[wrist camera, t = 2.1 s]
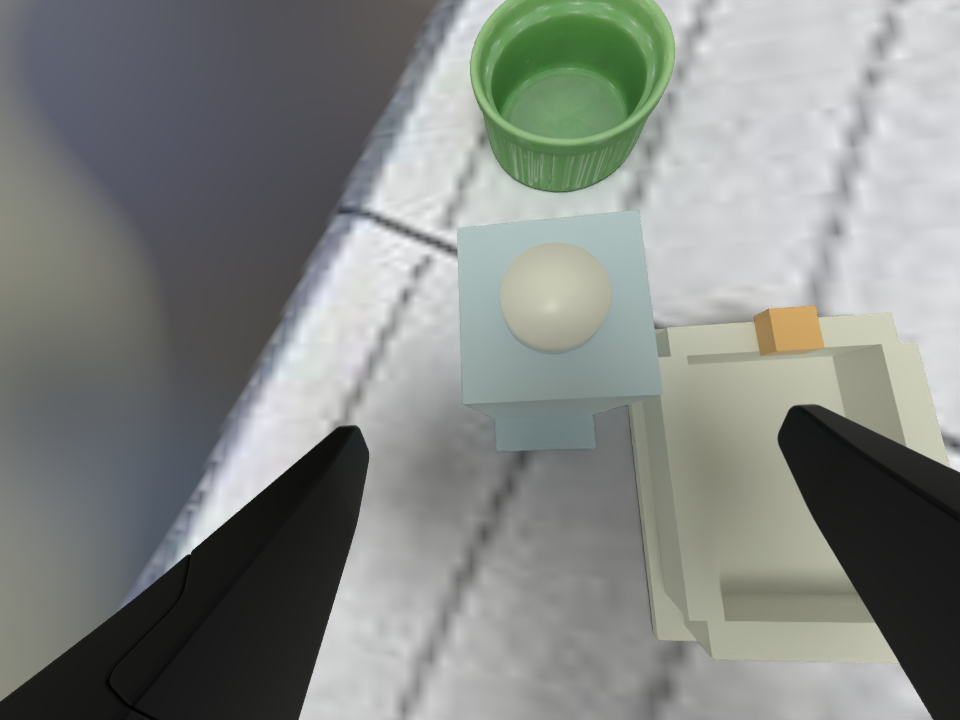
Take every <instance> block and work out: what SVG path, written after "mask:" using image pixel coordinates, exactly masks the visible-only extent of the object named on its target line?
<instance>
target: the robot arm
mask: <svg viewBox="0 0 960 720" xmlns="http://www.w3.org/2000/svg"><path fill="white" fill-rule="evenodd" d="M777 439H778V445H779V447H780V450H781V452H782V454H783V456H784V458H785V460H786V463H787V465H788V467H789V469H790V471H791V473H792V475H793V478H794V480H795V482H796V484H797V486H798V488H799V491H800V493H801V495H802V497H803V499H804V501H805V503H806V506H807V507H808V509H809V511H810V513H811V515H812V517H813V519H814V521H815V523H816V524H817V526H818V528H819V530H820V531H821V533H822V535H823V536H824V538H825V540H826V541H827V543H828V545H829V546H830V548H831V550H832V551H833V553H834V555H835V556H836V558H837V560H838V561H839V563H840V565H841V566H842V568H843V570H844V571H845V573H846V575H847V576H848V578H849V580H850V581H851V583H852V585H853V586H854V588H855V590H856V591H857V593H858V595H859V596H860V598H861V600H862V601H863V603H864V605H865V606H866V608H867V610H868V611H869V613H870V615H871V617H872V618H873V620H874V622H875V623H876V625H877V627H878V628H879V630H880V632H881V633H882V635H883V637H884V638H885V640H886V642H887V643H888V645H889V647H890V648H891V650H892V652H893V653H894V655H895V657H896V658H897V660H898V662H899V663H900V665H901V667H902V668H903V670H904V672H905V673H906V675H907V677H908V678H909V680H910V682H911V683H912V685H913V687H914V688H915V690H916V692H917V693H918V695H919V697H920V698H921V700H922V702H923V703H924V705H925V707H926V708H927V710H928V712H929V713H930V715H931V717H932V719H933V720H960V472H958V471H956V470H954V469H951V468H949V467H947V466H945V465H943V464H941V463H939V462H937V461H935V460H933V459H931V458H929V457H926V456H924V455H922V454H920V453H918V452H916V451H914V450H912V449H910V448H908V447H906V446H904V445H901V444H899V443H897V442H895V441H893V440H891V439H889V438H887V437H885V436H883V435H881V434H879V433H876V432H874V431H872V430H870V429H868V428H866V427H864V426H862V425H860V424H858V423H856V422H854V421H851V420H849V419H847V418H845V417H843V416H841V415H839V414H837V413H835V412H833V411H831V410H829V409H827V408H824V407H822V406H820V405H817V404H803V405H794V406H792V407H791V408H790V409H789V410H788V412H787V414H786V417H785V419H784V421H783V423H782V426H781V428H780V430H779V432H778V437H777ZM368 463H369V451H368V448H367V445H366V443H365V440H364V438H363V435H362V433H361V430H360V428H359V427H358V426H356V425H348V426H339V427H338V428H336V429H335V430H334V431H333V432H331V433H330V434H329V435H328V436H327V437H326V438H324V439H323V440H322V441H321V442H320V443H318V444H317V445H316V446H315V447H314V448H313V449H311V450H310V451H309V452H308V453H307V454H305V455H304V456H303V457H302V458H301V459H300V460H298V461H297V462H296V463H295V464H294V465H293V466H291V467H290V468H289V469H288V470H287V471H285V472H284V473H283V474H282V475H281V476H280V477H278V478H277V479H276V480H275V481H274V482H273V483H271V484H270V485H269V486H268V487H267V488H265V489H264V490H263V491H262V492H261V493H260V494H258V495H257V496H256V497H255V498H254V499H252V500H251V501H250V502H249V503H248V504H247V505H245V506H244V507H243V508H242V509H241V510H240V511H238V512H237V513H236V514H235V515H234V516H232V517H231V518H230V519H229V520H228V521H227V522H225V523H224V524H223V525H222V526H221V527H220V528H218V529H217V530H216V531H215V532H214V533H212V534H211V535H210V536H209V537H208V538H207V539H205V540H204V541H203V542H202V543H201V544H199V545H198V546H197V547H196V548H195V549H194V550H193V551H192V552H191V555H190V554H188V555H186V556H185V557H184V558H183V559H182V560H180V561H179V562H178V563H177V564H176V565H175V566H173V567H172V568H171V569H170V570H169V571H168V572H166V573H165V574H164V575H163V576H161V577H160V578H159V579H158V580H157V581H155V582H154V583H153V584H152V585H151V586H149V587H148V588H147V589H146V590H144V591H143V592H142V593H141V594H140V595H138V596H137V597H136V598H135V599H133V600H132V601H131V602H130V603H128V604H127V605H126V606H124V607H123V608H122V609H121V610H119V611H118V612H117V613H116V614H114V615H113V616H112V617H110V618H109V619H108V620H107V621H105V622H104V623H103V624H102V625H100V626H99V627H98V628H96V629H95V630H94V631H92V632H91V633H90V634H89V635H87V636H86V637H84V638H83V639H82V640H81V641H79V642H78V643H77V644H75V645H74V646H73V647H71V648H70V649H69V650H68V651H66V652H65V653H64V654H62V655H61V656H60V657H58V658H57V659H56V660H54V661H53V662H52V663H50V664H49V665H48V666H46V667H45V668H44V669H43V670H41V671H40V672H39V673H37V674H36V675H35V676H33V677H32V678H31V679H29V680H28V681H27V682H25V683H24V684H23V685H21V686H20V687H19V688H18V689H16V690H15V691H14V692H12V693H11V694H10V695H8V696H7V697H6V698H4V699H3V700H2V701H0V720H299V716H300V713H301V710H302V706H303V703H304V700H305V696H306V693H307V690H308V686H309V683H310V680H311V676H312V673H313V670H314V666H315V663H316V660H317V656H318V653H319V650H320V646H321V643H322V640H323V636H324V633H325V630H326V626H327V623H328V620H329V616H330V613H331V610H332V606H333V603H334V600H335V596H336V593H337V590H338V586H339V583H340V580H341V576H342V573H343V570H344V566H345V563H346V560H347V556H348V553H349V550H350V546H351V543H352V540H353V536H354V533H355V529H356V526H357V521H358V517H359V512H360V506H361V501H362V495H363V490H364V484H365V479H366V474H367V468H368Z"/></svg>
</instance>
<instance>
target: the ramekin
mask: <svg viewBox="0 0 960 720" xmlns="http://www.w3.org/2000/svg"><path fill="white" fill-rule="evenodd" d="M674 61H675V42H674V36H673V33H672V29H671V26H670V24H669V22H668V20H667V18H666V16H665V14H664V13H663V11H662V10H661V9H660V7H659V6H658V5H657V4H656V3H655V2H654V1H653V0H506V1H505V2H504V3H503V4H501V5H500V6H499V7H498V8H497V9H496V10H495V11H494V13H493V14H492V15H491V16H490V17H489V18H488V20H487V21H486V23H485V24H484V25H483V27H482V29H481V30H480V32H479V34H478V36H477V38H476V41H475V43H474V47H473V50H472V55H471V61H470V76H471V83H472V87H473V91H474V94H475V97H476V100H477V102H478V105H479V107H480V109H481V111H482V112H483V116H484V120H485V124H486V128H487V133H488V137H489V140H490V144H491V148H492V150H493V152H494V155H495V157H496V159H497V160H498V162H499V163H500V165H501V166H502V167H503V168H504V169H505V170H506V172H507V173H508V174H510V175H511V176H512V177H513V178H515V179H516V180H518V181H520V182H521V183H523V184H525V185H527V186H530V187H533V188H536V189H541V190H547V191H571V190H576V189H580V188H584V187H587V186H589V185H592V184H595V183H597V182H598V181H600V180H602V179H604V178H606V177H607V176H608V175H610V174H611V173H613V172H614V171H615V170H616V169H617V168H618V167H619V166H620V165H621V164H622V163H623V162H624V160H625V159H626V158H627V157H628V155H629V154H630V152H631V150H632V149H633V147H634V145H635V143H636V141H637V139H638V137H639V135H640V133H641V131H642V128H643V126H644V124H645V122H646V120H647V118H648V116H649V114H650V113H651V112H652V110H653V109H654V108H655V106H656V105H657V103H658V102H659V100H660V98H661V96H662V95H663V93H664V91H665V89H666V87H667V85H668V82H669V80H670V77H671V74H672V71H673V66H674Z"/></svg>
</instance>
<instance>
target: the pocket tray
mask: <svg viewBox="0 0 960 720" xmlns="http://www.w3.org/2000/svg"><path fill="white" fill-rule="evenodd" d="M753 318H754V322H742V323H727V324H712V325H697V326H682V327H668V328H666V329H655V335H656V343H657V351H658V358H659V366H660V374H661V381H662V389H663V395H659V396H656V397H652V398H649V399H645V400H642V401H638V402H635V403H631V404H628V410H629V419H630V428H631V437H632V446H633V455H634V464H635V473H636V481H637V490H638V499H639V508H640V517H641V526H642V535H643V544H644V553H645V562H646V571H647V579H648V588H649V597H650V606H651V615H652V624H653V633H654V635H655V636H656V638H657V639H658V640H664V641H698V642H699V644H700V645H701V646H702V647H703V649H704V650H705V651H706V652H707V653H708V655H709V656H710V657H711V658H712V659H714V660H760V661H807V662H854V663H899V662H898V660H897V658H896V657H895V655H894V653H893V652H892V650H891V648H890V647H889V645H888V643H887V642H886V640H885V638H884V637H883V635H882V633H881V632H880V630H879V628H878V627H877V625H876V623H875V622H874V620H873V618H872V617H871V615H870V613H869V611H868V610H867V608H866V606H865V605H864V603H863V601H862V600H861V598H860V596H859V595H858V593H857V591H856V590H855V588H854V586H853V585H852V583H851V581H850V580H849V578H848V576H847V575H846V573H845V571H844V570H843V568H842V566H841V565H840V563H839V561H838V560H837V558H836V556H835V555H834V553H833V551H832V550H831V548H830V546H829V545H828V543H827V541H826V540H825V538H824V536H823V535H822V533H821V531H820V530H819V528H818V526H817V524H816V523H815V521H814V519H813V517H812V515H811V513H810V511H809V509H808V507H807V506H806V503H805V501H804V499H803V497H802V495H801V493H800V491H799V488H798V486H797V484H796V482H795V480H794V478H793V475H792V473H791V471H790V469H789V467H788V465H787V463H786V460H785V458H784V456H783V454H782V452H781V450H780V447H779V445H778V439H777V437H778V432H779V430H780V428H781V426H782V423H783V421H784V419H785V417H786V414H787V412H788V410H789V409H790V408H791V407H792V406H794V405H803V404H817V405H820V406H822V407H824V408H827V409H829V410H831V411H833V412H835V413H837V414H839V415H841V416H843V417H845V418H847V419H849V420H851V421H854V422H856V423H858V424H860V425H862V426H864V427H866V428H868V429H870V430H872V431H874V432H876V433H879V434H881V435H883V436H885V437H887V438H889V439H891V440H893V441H895V442H897V443H899V444H901V445H904V446H906V447H908V448H910V449H912V450H914V451H916V452H918V453H920V454H922V455H924V456H926V457H929V458H931V459H933V460H935V461H937V462H939V463H941V464H943V465H945V466H947V467H949V468H950V466H949V462H948V458H947V454H946V451H945V447H944V443H943V439H942V435H941V432H940V428H939V424H938V420H937V416H936V413H935V409H934V405H933V401H932V397H931V394H930V390H929V386H928V382H927V378H926V375H925V371H924V367H923V363H922V359H921V356H920V352H919V348H918V344H917V342H909V343H899V341H898V337H897V333H896V329H895V325H894V321H893V317H892V313H876V314H861V315H847V316H832V317H818V315H817V310H816V306H803V307H789V308H775V309H768V310H766V311H764V312H762V313H760V314H758V315H756V316H754V317H753Z"/></svg>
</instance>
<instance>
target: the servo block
mask: <svg viewBox="0 0 960 720" xmlns="http://www.w3.org/2000/svg"><path fill="white" fill-rule="evenodd" d="M457 244H458V276H459V309H460V342H461V374H462V404H463V405H465V406H468V407H470V408H472V409H474V410H476V411H479V412H481V413H483V414H485V415H487V416H490V417H492V418H494V419H495V440H496V452H504V451H532V450H560V449H589V448H596V437H595V426H594V416H593V414H596V413H600V412H603V411H607V410H610V409H614V408H617V407H621V406H624V405H628V404H631V403H635V402H638V401H642V400H645V399H649V398H652V397H656V396H659V395H663V389H662V381H661V374H660V366H659V358H658V351H657V343H656V335H655V328H654V320H653V312H652V305H651V297H650V289H649V282H648V274H647V266H646V259H645V251H644V243H643V236H642V228H641V220H640V213H639V210H634V211H624V212H614V213H604V214H594V215H584V216H574V217H563V218H553V219H543V220H533V221H523V222H513V223H503V224H493V225H483V226H473V227H463V228H457Z"/></svg>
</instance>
